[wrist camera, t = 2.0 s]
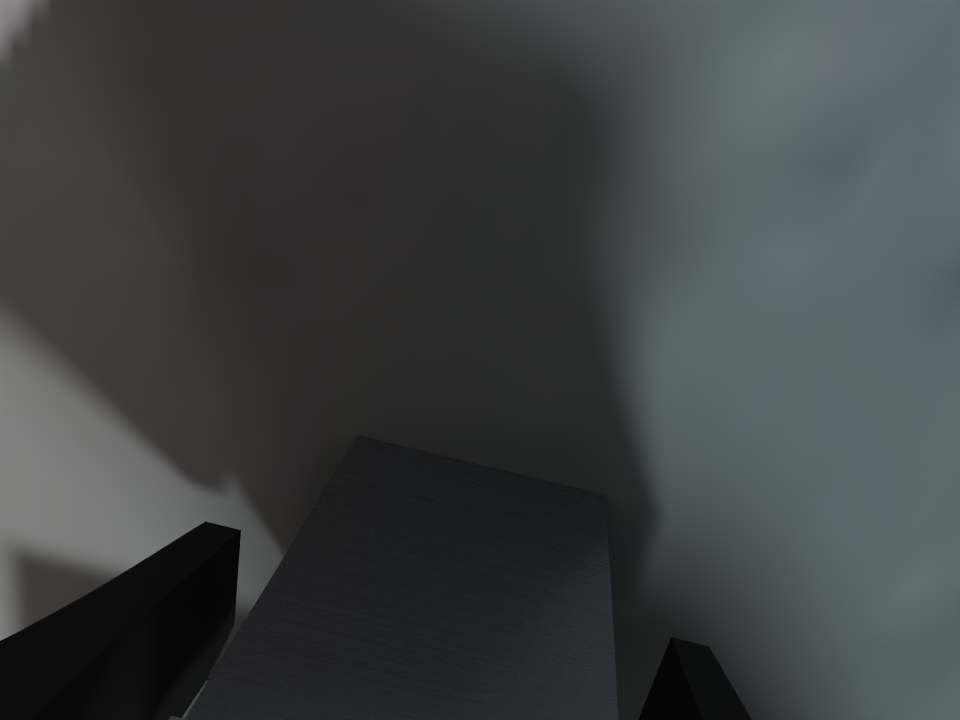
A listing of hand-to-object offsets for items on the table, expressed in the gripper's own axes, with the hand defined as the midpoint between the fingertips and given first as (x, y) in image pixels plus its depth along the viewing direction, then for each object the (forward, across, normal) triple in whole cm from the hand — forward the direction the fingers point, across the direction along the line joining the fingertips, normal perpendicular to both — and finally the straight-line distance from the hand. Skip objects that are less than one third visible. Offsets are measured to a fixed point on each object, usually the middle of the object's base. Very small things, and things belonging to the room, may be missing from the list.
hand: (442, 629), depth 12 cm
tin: (+2, 0, 0) cm, 2 cm away
